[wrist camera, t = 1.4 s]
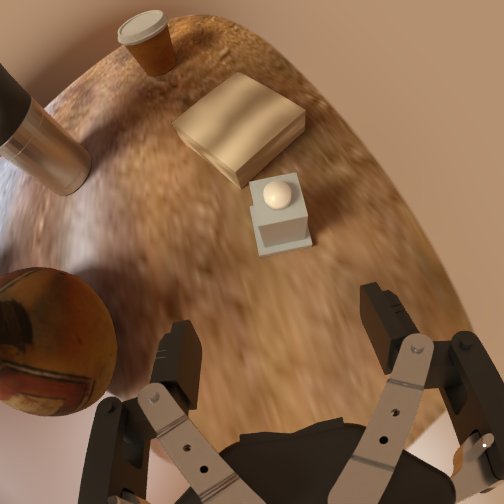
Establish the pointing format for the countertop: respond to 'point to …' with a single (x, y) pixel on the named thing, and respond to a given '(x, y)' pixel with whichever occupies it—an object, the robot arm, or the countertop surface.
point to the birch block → (240, 127)
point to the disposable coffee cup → (149, 41)
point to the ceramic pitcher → (53, 342)
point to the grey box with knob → (279, 215)
